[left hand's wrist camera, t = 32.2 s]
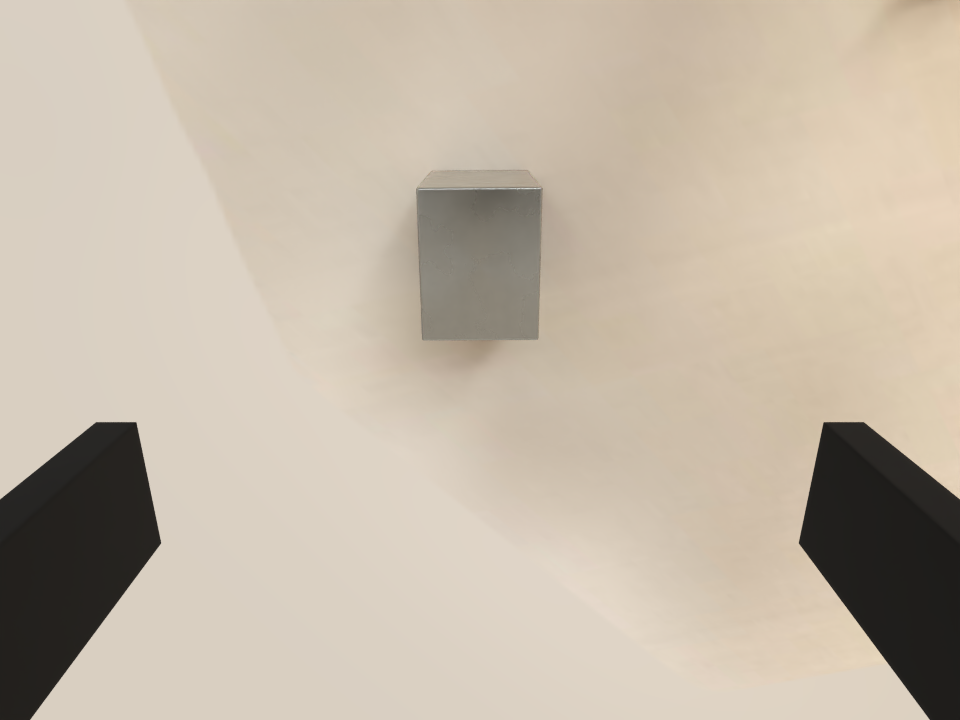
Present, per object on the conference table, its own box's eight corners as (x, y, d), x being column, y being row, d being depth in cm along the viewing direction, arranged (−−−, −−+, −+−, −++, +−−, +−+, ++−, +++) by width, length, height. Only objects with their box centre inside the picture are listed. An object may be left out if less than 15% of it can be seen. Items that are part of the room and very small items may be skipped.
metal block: (525, 291, 40) (538, 340, 32) (434, 291, 40) (422, 341, 32) (528, 170, 38) (542, 187, 29) (430, 170, 38) (416, 187, 29)
